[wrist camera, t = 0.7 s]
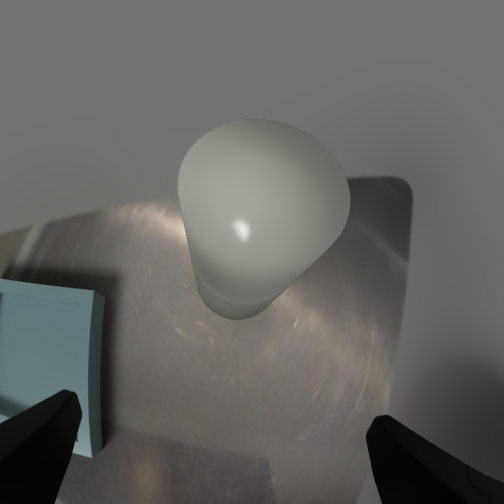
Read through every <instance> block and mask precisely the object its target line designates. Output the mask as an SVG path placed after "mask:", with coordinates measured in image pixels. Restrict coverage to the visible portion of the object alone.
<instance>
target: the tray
mask: <svg viewBox="0 0 504 504" xmlns="http://www.w3.org/2000/svg"><path fill="white" fill-rule="evenodd" d="M105 298H106V297H104V296H102V295H101V294H99V293H97V292H96V291H94V290H85V289H75V288H66V287H57V286H49V285H41V284H33V283H26V282H19V281H12V280H5V279H0V423H1V422H3V421H5V420H7V419H9V418H11V417H13V416H15V415H17V414H18V413H20V412H22V411H24V410H26V409H28V408H30V407H32V406H33V405H35V404H37V403H39V402H41V401H43V400H44V399H46V398H48V397H50V396H52V395H54V394H55V393H57V392H59V391H61V390H63V389H67V390H70V391H73V392H75V393H76V394H77V395H78V399H79V402H80V405H81V409H82V420H81V423H80V427H79V430H78V434H77V438H76V441H75V445H74V449H73V453H76V454H80V455H83V456H87V457H91V458H92V457H94V456H95V455H96V454H98V453H99V452H100V451H101V450H103V439H102V423H101V348H102V331H103V318H104V307H105Z"/></svg>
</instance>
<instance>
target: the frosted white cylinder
mask: <svg viewBox="0 0 504 504" xmlns="http://www.w3.org/2000/svg"><path fill="white" fill-rule="evenodd" d="M178 194H179V200H180V206H181V211H182V216H183V222H184V227H185V232H186V237H187V242H188V246H189V251H190V256H191V261H192V265H193V270H194V274H195V279H196V283H197V287H198V291H199V294H200V296H201V298H202V300H203V302H204V303H205V304H206V305H207V307H208V308H209V309H211V310H212V311H213V312H215V313H216V314H218V315H220V316H222V317H225V318H228V319H235V320H241V319H247V318H251V317H253V316H256V315H258V314H259V313H261V312H262V311H263V310H264V309H266V308H267V307H268V306H269V305H270V304H271V303H272V302H273V301H274V300H275V299H276V298H277V297H279V296H280V295H281V294H282V293H283V292H284V291H285V290H286V289H287V288H288V287H289V286H290V285H291V284H292V283H293V282H294V281H295V280H296V279H298V278H299V277H300V276H301V275H302V274H303V273H304V272H305V271H306V270H307V269H308V268H309V267H310V266H311V265H312V264H313V263H314V262H315V261H316V260H317V259H318V258H319V257H320V256H321V255H322V254H323V253H324V252H325V251H326V250H327V249H328V248H329V247H330V246H331V245H332V244H333V243H334V242H335V241H336V240H337V238H338V237H339V236H340V234H341V233H342V231H343V229H344V227H345V225H346V222H347V220H348V216H349V211H350V190H349V186H348V182H347V179H346V176H345V174H344V172H343V170H342V168H341V166H340V164H339V163H338V161H337V160H336V158H335V157H334V156H333V154H332V153H331V152H330V151H329V150H328V149H327V148H326V147H325V146H324V145H323V144H322V143H321V142H319V141H318V140H317V139H315V138H314V137H313V136H311V135H309V134H308V133H306V132H304V131H302V130H300V129H298V128H296V127H294V126H291V125H288V124H285V123H281V122H277V121H272V120H265V119H246V120H240V121H234V122H231V123H227V124H224V125H221V126H219V127H217V128H215V129H213V130H211V131H209V132H208V133H206V134H205V135H204V136H202V137H201V138H200V139H199V140H198V141H197V142H195V144H194V145H193V146H192V147H191V148H190V150H189V151H188V153H187V154H186V156H185V158H184V160H183V162H182V165H181V168H180V172H179V177H178Z"/></svg>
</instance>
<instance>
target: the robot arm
mask: <svg viewBox="0 0 504 504" xmlns="http://www.w3.org/2000/svg"><path fill="white" fill-rule="evenodd" d="M81 420H82V409H81V405H80V402H79V399H78V395H77V394H76V393H75V392H73V391H70V390H67V389H63V390H61V391H59V392H57V393H55V394H54V395H52V396H50V397H48V398H46V399H44V400H43V401H41V402H39V403H37V404H35V405H33V406H32V407H30V408H28V409H26V410H24V411H22V412H20V413H18V414H17V415H15V416H13V417H11V418H9V419H7V420H5V421H3V422H1V423H0V504H55V501H56V498H57V495H58V492H59V489H60V486H61V483H62V481H63V478H64V475H65V473H66V470H67V467H68V465H69V462H70V459H71V456H72V453H73V449H74V445H75V441H76V438H77V434H78V430H79V427H80V423H81ZM366 442H367V446H368V451H369V456H370V462H371V467H372V472H373V476H374V480H375V483H376V486H377V489H378V492H379V496H380V498H381V502H382V504H504V482H501V481H499V480H496V479H494V478H492V477H490V476H487V475H485V474H483V473H481V472H480V471H478V470H476V469H474V468H472V467H470V466H469V465H466V464H465V463H464V462H462V461H460V460H459V459H457V458H455V457H453V456H452V455H450V454H449V453H447V452H445V451H444V450H442V449H440V448H439V447H437V446H436V445H434V444H432V443H431V442H429V441H428V440H426V439H424V438H423V437H421V436H420V435H418V434H417V433H415V432H414V431H412V430H410V429H409V428H407V427H406V426H404V425H403V424H401V423H400V422H398V421H397V420H395V419H394V418H392V417H391V416H389V415H381V416H377V417H375V418H374V420H373V422H372V424H371V426H370V428H369V429H368V431H367V434H366Z"/></svg>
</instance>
